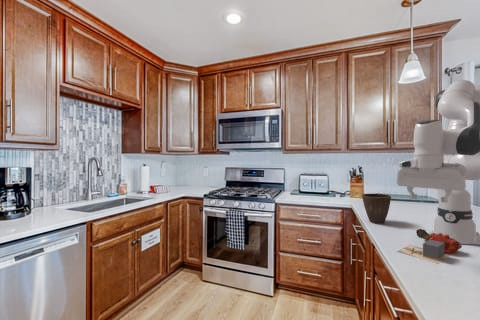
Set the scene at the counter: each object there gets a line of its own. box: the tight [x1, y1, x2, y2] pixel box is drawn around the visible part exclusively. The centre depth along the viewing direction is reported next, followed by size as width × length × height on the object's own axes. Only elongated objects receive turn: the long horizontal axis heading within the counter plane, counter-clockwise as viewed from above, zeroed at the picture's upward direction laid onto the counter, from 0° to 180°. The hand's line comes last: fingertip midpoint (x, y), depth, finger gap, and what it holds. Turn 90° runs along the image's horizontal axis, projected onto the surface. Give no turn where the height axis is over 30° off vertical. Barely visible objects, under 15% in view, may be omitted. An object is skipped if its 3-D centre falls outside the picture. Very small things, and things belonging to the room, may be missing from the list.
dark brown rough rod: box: [415, 228, 429, 240], centre depth 105 cm, size 19×4×5 cm, turn 159°
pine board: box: [396, 244, 450, 264], centre depth 91 cm, size 12×13×2 cm
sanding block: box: [422, 240, 446, 261], centre depth 88 cm, size 7×4×5 cm, turn 124°
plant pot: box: [361, 193, 392, 225], centre depth 140 cm, size 15×15×16 cm
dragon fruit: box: [423, 233, 463, 254], centre depth 93 cm, size 8×8×12 cm
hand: (428, 200), depth 88 cm, fingers open, 8 cm apart
